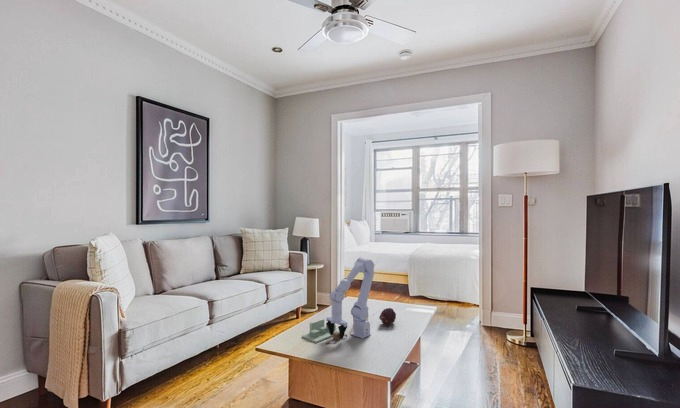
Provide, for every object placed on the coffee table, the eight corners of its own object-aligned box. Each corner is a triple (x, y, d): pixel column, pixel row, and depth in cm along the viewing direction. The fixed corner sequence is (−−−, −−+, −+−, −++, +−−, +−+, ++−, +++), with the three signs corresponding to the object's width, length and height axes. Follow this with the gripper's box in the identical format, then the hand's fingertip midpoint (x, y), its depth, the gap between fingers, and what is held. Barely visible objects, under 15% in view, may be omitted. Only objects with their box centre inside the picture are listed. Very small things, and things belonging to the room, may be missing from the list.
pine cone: (385, 318, 234) (385, 303, 234) (400, 321, 229) (400, 305, 229) (375, 327, 218) (375, 311, 218) (391, 329, 213) (391, 313, 213)
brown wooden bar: (349, 337, 202) (349, 330, 202) (329, 345, 191) (329, 337, 190) (343, 335, 205) (343, 328, 205) (323, 343, 194) (323, 335, 194)
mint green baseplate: (343, 332, 209) (343, 320, 209) (316, 343, 193) (316, 330, 193) (329, 327, 217) (329, 316, 217) (301, 337, 201) (301, 325, 201)
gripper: (322, 311, 200) (322, 335, 200) (341, 316, 190) (341, 342, 190) (331, 308, 205) (331, 331, 205) (350, 313, 195) (350, 338, 195)
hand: (336, 336), depth 198 cm, fingers open, 7 cm apart
